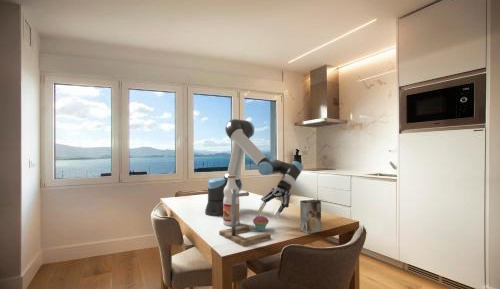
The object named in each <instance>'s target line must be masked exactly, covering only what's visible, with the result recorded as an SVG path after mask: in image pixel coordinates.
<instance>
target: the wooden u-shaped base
mask: <svg viewBox="0 0 500 289" xmlns="http://www.w3.org/2000/svg"><path fill="white" fill-rule="evenodd" d="M248 231H249V232H250V231H251V226H249V225H248V224H244V225H240V226H236V235H235V236H232V227H230V228H227V229H226V228H225V229H221V230H219V231H218V235H219V236H221V237H223V238H225V239H227V240H229V241H231V242H233V243H235V244H236V245H239V246H240V247H244V246H248V244H249V245H251V244H255V243H260V242H263V241H267V240H270V239H272V238H271V236H272V235H271V233H268V232H263V233H258V234H255V235H251V236H247V237H246V236H245V237H244V236H241V235H240V233H244V232H248Z"/></svg>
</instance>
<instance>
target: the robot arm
mask: <svg viewBox="0 0 500 289" xmlns="http://www.w3.org/2000/svg"><path fill="white" fill-rule="evenodd" d="M224 130H225V134H226V135H227V137H228V138H229V139H230V140H231V141H232V142H233V144H232V149H231V154H230V158H229V163H228V167H227V172H226V173H225V174H224V176H223V177H220V176H219V177H213V178H210V179H209V180H208V181H207V204H206V207H205V209H204V210H205V211H204V214H205V215H207V216H212V217H213V216H214V217H217V216H223V199H224V188H225V186H226V185H227V182H228V178H227V176H228V175H235V176H236V178H235V182H236V185H237V187H238V188H239V193H241V190H242V188H243V183H242V180H241V179H242V177H241V176H240V173H241V168H242V163H243V158H244V154H246V156H248V157H249V159H251V161H252V162H254V164H255V165H256V166H257V170H258V173H259V174H260V175H262V176H270V175H276V174H277V175H278V174H281V175H283V176H282V177H281V179H280V180H279V182H278V183H277V185H276V188H274V187H272V188H271V189H270V190H269V191H268V192H267V193H266V194H264V196H262V197H261V198H260V200H261V203H260V204H259V207H258V208H257V210H256V211H257V212H258V213H259V214H260V207H261V213H262V212H263V210H264V209H265V207H266V206H267V203H268V202H270V201H272V200H273V199H276V198H279V199H280V204H279V206H278V207H277V209H276V210H275V211H274V213H273V216H274V217H275V218H276V219H278V218H279V216H280V214H281V213H283V211H284V209H285V208H289V206H290V198H291V196H292V193H291V189H292V187H293V186H294V185H295V182H296V181H297V180H298V178H299V176H300V174H302V171H303V169H304V167H303V165H302V163H301V162H299V161H297V160H293V161H292V162H291V163H288V162H286V161H282V160H279V159H272V160H270V159H269V158H268V157H267V156H266V155H265V154H264V153H263V151H261V149H259V148H258V147H257V146H256V144H254V142H252V141H251V138H252V137H253V136H254V134H255V126H254V123H252V122H251V121H249V120H245V119H235V118H233V119H230V120H229V121H228V122H226V125H225V128H224Z"/></svg>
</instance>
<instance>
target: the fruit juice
mask: <svg viewBox="0 0 500 289" xmlns="http://www.w3.org/2000/svg"><path fill="white" fill-rule="evenodd" d="M227 178H228V182H227V185H226V186H225V188H224V199H223V215H222V219H223V222H222V224H223V225H225V226H229V227H230V226H231V227H232V189H236V194H237V193H240V192H239V188H238V187H237V185H236V182H235V178H236V176H235V175H228V176H227ZM239 224H240V197H236V226H238V225H239Z"/></svg>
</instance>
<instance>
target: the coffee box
mask: <svg viewBox="0 0 500 289" xmlns="http://www.w3.org/2000/svg"><path fill="white" fill-rule="evenodd" d="M299 206H300V207H299V210H300V220H299V221H300V231H301V232H303V233H305V234H312V233H313V234H314V233H319V232H322V201H321V200H318V199H306V200H305V199H304V200H300V203H299Z"/></svg>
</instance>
